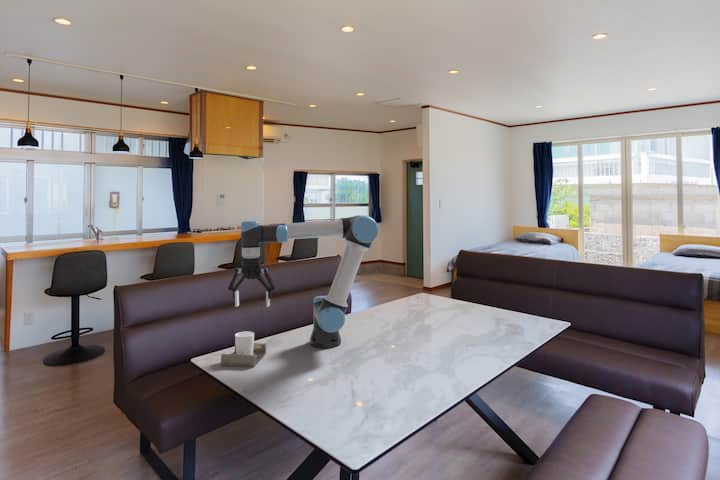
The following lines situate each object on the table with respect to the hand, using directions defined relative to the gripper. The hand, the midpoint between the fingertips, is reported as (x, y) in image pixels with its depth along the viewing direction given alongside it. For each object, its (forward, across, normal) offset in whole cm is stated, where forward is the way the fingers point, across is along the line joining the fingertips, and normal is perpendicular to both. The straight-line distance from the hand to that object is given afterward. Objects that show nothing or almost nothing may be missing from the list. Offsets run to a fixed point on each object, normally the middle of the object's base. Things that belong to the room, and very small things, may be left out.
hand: (252, 306), depth 175 cm
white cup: (+22, -3, -2) cm, 22 cm away
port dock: (+23, -3, -2) cm, 23 cm away
